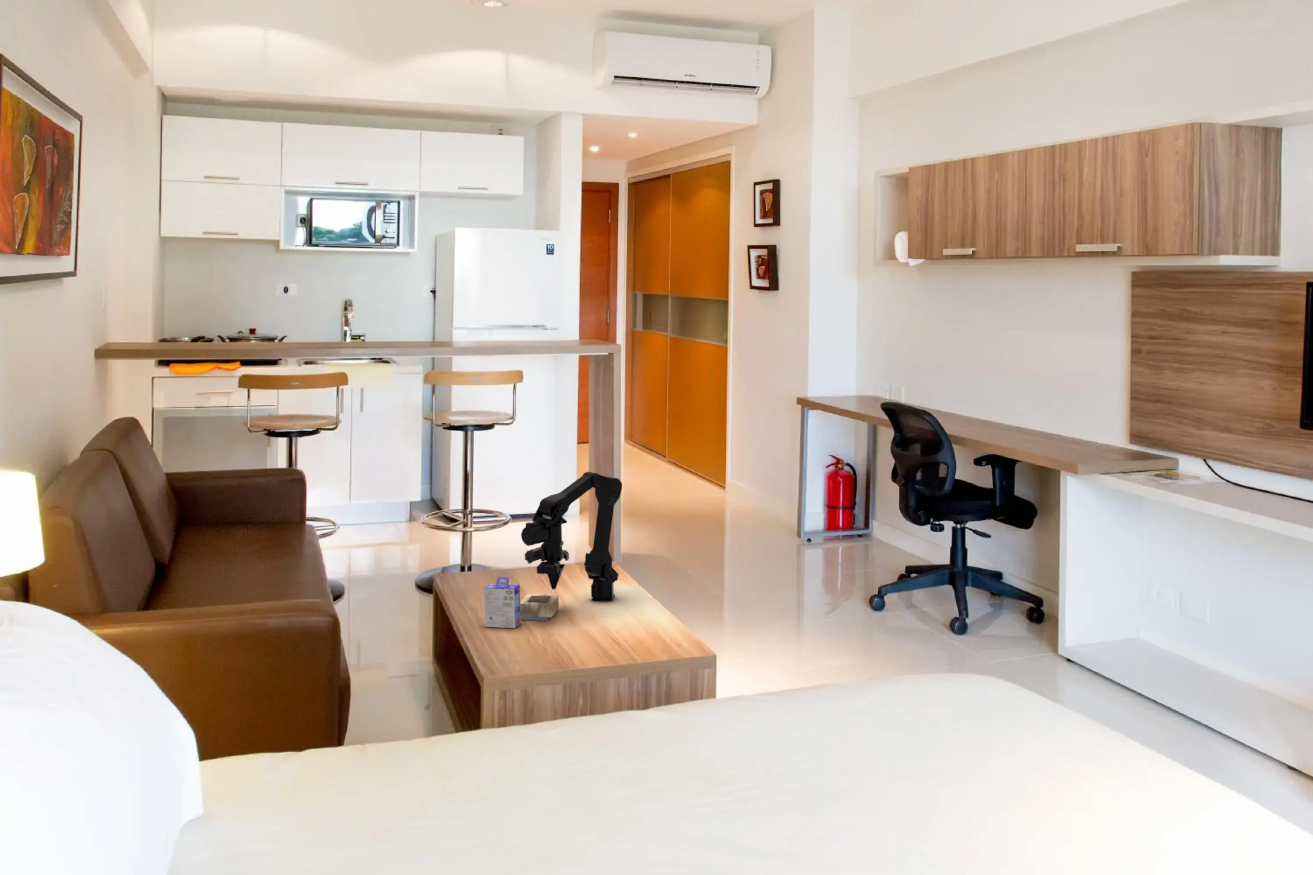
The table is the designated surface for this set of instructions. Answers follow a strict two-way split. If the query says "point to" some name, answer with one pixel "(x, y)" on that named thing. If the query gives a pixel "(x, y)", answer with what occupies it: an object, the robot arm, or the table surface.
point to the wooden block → (539, 605)
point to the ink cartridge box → (502, 604)
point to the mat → (534, 618)
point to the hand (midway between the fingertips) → (553, 588)
